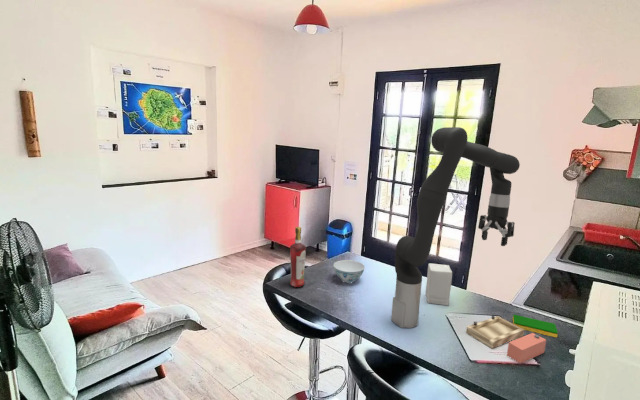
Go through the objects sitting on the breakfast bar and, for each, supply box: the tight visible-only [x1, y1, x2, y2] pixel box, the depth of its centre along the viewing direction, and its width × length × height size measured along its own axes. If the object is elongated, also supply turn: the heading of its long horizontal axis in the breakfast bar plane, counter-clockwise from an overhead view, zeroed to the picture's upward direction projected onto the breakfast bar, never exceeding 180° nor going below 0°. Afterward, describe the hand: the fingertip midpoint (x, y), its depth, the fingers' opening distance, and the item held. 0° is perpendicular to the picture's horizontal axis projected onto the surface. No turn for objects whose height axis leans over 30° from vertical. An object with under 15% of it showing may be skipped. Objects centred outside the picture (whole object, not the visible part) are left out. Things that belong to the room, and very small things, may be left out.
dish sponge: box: [512, 314, 559, 338], centre depth 128 cm, size 7×14×2 cm, turn 63°
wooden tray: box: [465, 315, 525, 349], centre depth 123 cm, size 18×10×4 cm, turn 118°
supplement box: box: [425, 263, 453, 306], centre depth 147 cm, size 9×9×15 cm
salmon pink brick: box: [506, 332, 547, 365], centre depth 112 cm, size 13×4×6 cm, turn 117°
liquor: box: [289, 226, 307, 288], centre depth 156 cm, size 7×7×28 cm
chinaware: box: [333, 259, 365, 284], centre depth 165 cm, size 15×15×8 cm
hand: (493, 242), depth 142 cm, fingers open, 8 cm apart
